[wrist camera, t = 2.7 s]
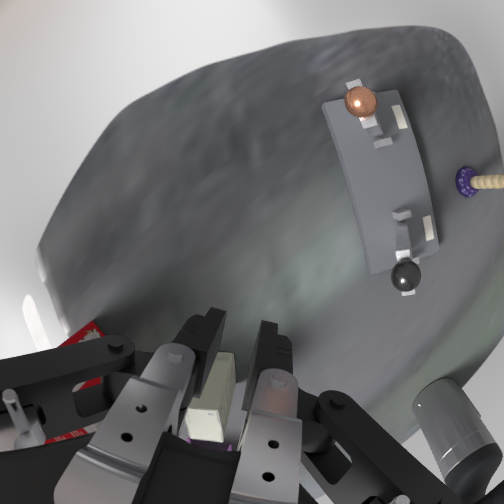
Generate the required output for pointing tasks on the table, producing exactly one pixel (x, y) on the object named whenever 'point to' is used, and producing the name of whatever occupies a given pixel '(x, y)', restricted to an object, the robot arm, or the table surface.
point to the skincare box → (213, 402)
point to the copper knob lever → (363, 107)
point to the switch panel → (384, 180)
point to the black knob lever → (404, 263)
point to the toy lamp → (476, 181)
